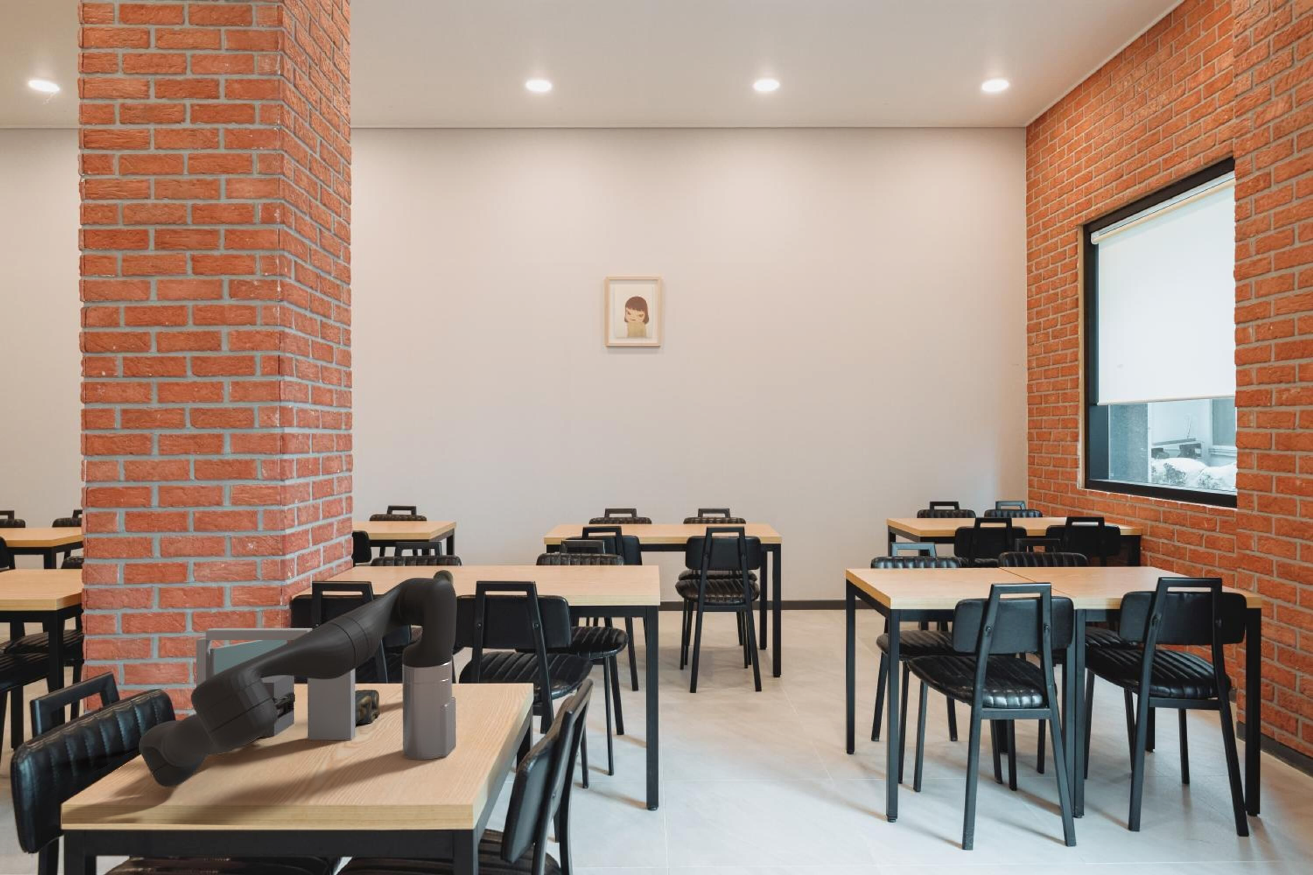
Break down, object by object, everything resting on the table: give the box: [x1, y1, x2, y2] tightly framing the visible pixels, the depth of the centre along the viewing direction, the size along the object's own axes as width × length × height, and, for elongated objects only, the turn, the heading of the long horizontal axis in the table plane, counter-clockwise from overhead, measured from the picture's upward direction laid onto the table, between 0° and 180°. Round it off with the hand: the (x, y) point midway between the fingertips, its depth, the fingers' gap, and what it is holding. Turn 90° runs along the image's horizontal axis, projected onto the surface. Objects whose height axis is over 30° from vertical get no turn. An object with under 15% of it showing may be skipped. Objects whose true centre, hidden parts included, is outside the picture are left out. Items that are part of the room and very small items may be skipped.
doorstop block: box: [260, 675, 295, 738], centre depth 170 cm, size 6×8×11 cm
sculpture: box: [355, 689, 381, 726], centre depth 172 cm, size 13×6×7 cm, turn 178°
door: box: [210, 640, 288, 677], centre depth 171 cm, size 16×2×18 cm, turn 140°
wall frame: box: [195, 627, 356, 741], centre depth 165 cm, size 32×2×22 cm, turn 86°
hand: (273, 696), depth 170 cm, fingers open, 8 cm apart
